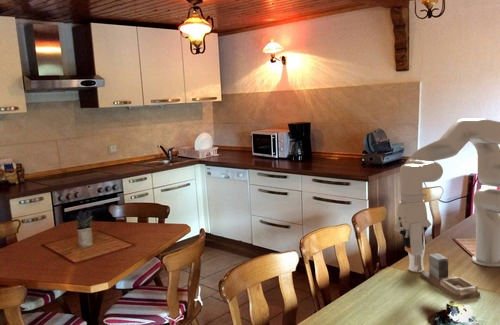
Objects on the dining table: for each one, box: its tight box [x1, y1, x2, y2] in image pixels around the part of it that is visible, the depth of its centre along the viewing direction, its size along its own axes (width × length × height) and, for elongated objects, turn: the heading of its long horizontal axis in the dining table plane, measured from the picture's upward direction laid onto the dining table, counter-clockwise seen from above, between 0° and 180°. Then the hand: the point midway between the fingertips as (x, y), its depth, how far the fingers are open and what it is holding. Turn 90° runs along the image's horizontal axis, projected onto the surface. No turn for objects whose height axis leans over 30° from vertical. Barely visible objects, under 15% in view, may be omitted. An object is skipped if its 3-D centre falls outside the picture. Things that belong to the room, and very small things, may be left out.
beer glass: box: [407, 234, 426, 273], centre depth 183 cm, size 7×7×15 cm
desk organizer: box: [419, 253, 481, 301], centre depth 166 cm, size 9×23×10 cm, turn 12°
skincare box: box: [404, 223, 423, 256], centre depth 163 cm, size 6×4×12 cm
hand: (413, 245), depth 163 cm, fingers closed on skincare box, 4 cm apart
